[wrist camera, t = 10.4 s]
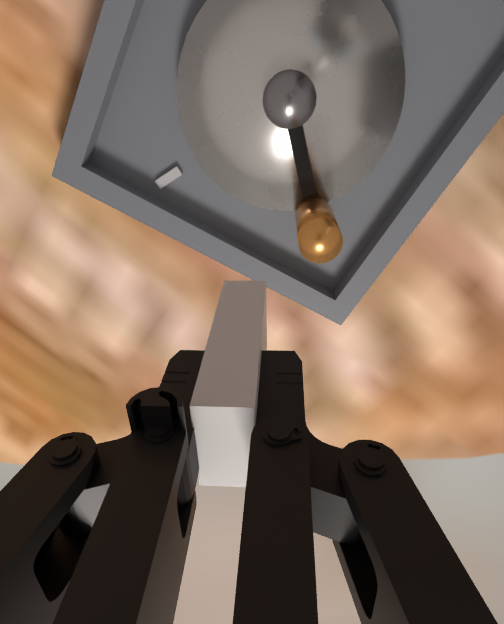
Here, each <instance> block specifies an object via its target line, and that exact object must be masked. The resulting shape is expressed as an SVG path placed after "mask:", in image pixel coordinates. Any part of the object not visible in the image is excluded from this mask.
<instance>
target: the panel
mask: <svg viewBox="0 0 504 624" xmlns="http://www.w3.org/2000/svg"><path fill="white" fill-rule="evenodd" d="M206 1H207V0H104V3H103V6H102V10H101V13H100V16H99V20H98V23H97V26H96V30H95V33H94V36H93V40H92V43H91V46H90V50H89V53H88V56H87V60H86V63H85V66H84V70H83V73H82V76H81V80H80V83H79V86H78V90H77V93H76V96H75V99H74V103H73V106H72V109H71V113H70V116H69V119H68V123H67V126H66V129H65V133H64V136H63V139H62V143H61V146H60V149H59V153H58V156H57V159H56V163H55V166H54V169H53V173H52V176H53V177H55V178H57V179H59V180H61V181H63V182H65V183H66V184H68V185H70V186H72V187H74V188H76V189H78V190H80V191H82V192H84V193H86V194H88V195H90V196H92V197H94V198H95V199H97V200H99V201H101V202H103V203H105V204H107V205H109V206H111V207H113V208H115V209H117V210H119V211H121V212H123V213H125V214H126V215H128V216H130V217H132V218H134V219H136V220H138V221H140V222H142V223H144V224H146V225H148V226H150V227H152V228H154V229H156V230H157V231H159V232H161V233H163V234H165V235H167V236H169V237H171V238H173V239H175V240H177V241H179V242H181V243H183V244H185V245H186V246H188V247H190V248H192V249H194V250H196V251H198V252H200V253H202V254H204V255H206V256H208V257H210V258H212V259H214V260H216V261H217V262H219V263H221V264H223V265H225V266H227V267H229V268H231V269H233V270H235V271H237V272H239V273H241V274H243V275H245V276H247V277H248V278H250V279H252V280H254V281H266V287H268V288H270V289H272V290H274V291H276V292H277V293H279V294H281V295H283V296H285V297H287V298H289V299H291V300H293V301H295V302H297V303H299V304H301V305H303V306H305V307H307V308H308V309H310V310H312V311H314V312H316V313H318V314H320V315H322V316H324V317H326V318H328V319H330V320H332V321H334V322H336V323H338V324H339V325H342V323H343V322H344V321H345V319H346V318H347V317H348V315H349V314H350V313H351V311H352V310H353V309H354V308H355V306H356V305H357V304H358V302H359V301H360V300H361V298H362V297H363V296H364V294H365V293H366V292H367V291H368V289H369V288H370V287H371V285H372V284H373V283H374V281H375V280H376V279H377V278H378V276H379V275H380V274H381V272H382V271H383V270H384V268H385V267H386V266H387V264H388V263H389V262H390V261H391V259H392V258H393V257H394V255H395V254H396V253H397V251H398V250H399V249H400V247H401V246H402V245H403V244H404V242H405V241H406V240H407V238H408V237H409V236H410V234H411V233H412V232H413V230H414V229H415V228H416V227H417V225H418V224H419V223H420V221H421V220H422V219H423V217H424V216H425V215H426V214H427V212H428V211H429V210H430V208H431V207H432V206H433V204H434V203H435V202H436V200H437V199H438V198H439V197H440V195H441V194H442V193H443V191H444V190H445V189H446V187H447V186H448V185H449V183H450V182H451V181H452V180H453V178H454V177H455V176H456V174H457V173H458V172H459V170H460V169H461V168H462V167H463V165H464V164H465V163H466V161H467V160H468V159H469V157H470V156H471V155H472V153H473V152H474V151H475V150H476V148H477V147H478V146H479V144H480V143H481V142H482V140H483V139H484V138H485V136H486V135H487V134H488V133H489V131H490V130H491V129H492V127H493V126H494V125H495V123H496V122H497V121H498V119H499V118H500V117H501V116H502V114H503V113H504V0H381V1H382V2H383V4H384V5H385V7H386V9H387V10H388V12H389V13H390V15H391V17H392V20H393V22H394V24H395V26H396V29H397V31H398V34H399V38H400V41H401V45H402V49H403V55H404V62H405V81H406V82H405V94H404V101H403V106H402V111H401V116H400V119H399V122H398V125H397V128H396V131H395V133H394V135H393V137H392V139H391V142H390V144H389V146H388V147H387V149H386V151H385V152H384V154H383V156H382V157H381V159H380V160H379V161H378V163H377V164H376V165H375V167H374V168H373V169H372V170H371V171H370V172H369V173H368V174H367V175H366V177H365V178H364V179H363V180H362V181H361V182H359V183H358V184H357V185H356V186H354V187H353V188H352V189H351V190H349V191H348V192H346V193H344V194H343V195H341V196H340V197H338V198H336V199H334V200H332V201H330V202H328V203H329V204H330V206H331V208H332V211H333V213H334V216H335V218H336V221H337V223H338V226H339V228H340V231H341V234H342V237H343V246H342V249H341V251H340V253H339V254H338V255H337V256H336V257H335V258H334V259H333V260H331V261H329V262H326V263H313V262H310V261H308V260H307V259H306V258H304V256H303V255H302V254H301V252H300V250H299V245H298V237H297V229H296V221H295V212H296V210H295V211H278V210H270V209H265V208H260V207H257V206H254V205H251V204H248V203H246V202H244V201H242V200H240V199H238V198H236V197H234V196H233V195H231V194H230V193H228V192H227V191H225V190H224V189H223V188H221V187H220V186H219V185H218V184H217V183H216V182H215V181H213V179H212V178H211V177H210V176H209V175H208V174H207V173H206V172H205V171H204V169H203V168H202V166H201V165H200V164H199V162H198V161H197V159H196V158H195V156H194V154H193V152H192V150H191V148H190V146H189V144H188V142H187V139H186V137H185V134H184V132H183V128H182V124H181V120H180V117H179V110H178V103H177V75H178V65H179V61H180V56H181V51H182V48H183V45H184V42H185V39H186V36H187V33H188V31H189V29H190V27H191V25H192V23H193V21H194V19H195V17H196V16H197V14H198V13H199V11H200V9H201V8H202V6H203V5H204V3H205V2H206Z"/></svg>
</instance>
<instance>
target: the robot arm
mask: <svg viewBox="0 0 504 624" xmlns="http://www.w3.org/2000/svg"><path fill="white" fill-rule="evenodd" d="M266 348H267V324H266V281H224V284H223V288H222V291H221V295H220V298H219V302H218V306H217V309H216V313H215V316H214V320H213V323H212V327H211V331H210V334H209V338H208V341H207V345H206V349H205V351H197V350H180V351H179V352H178V353H177V354H176V355H175V356H173V357H172V358H171V359H170V361H169V363H168V366H167V368H166V371H165V374H164V376H163V379H162V383H161V384H160V386H159V387H158V388H150V389H147V390H144V391H141V392H139V393H138V394H136V395H135V396H133V397H132V398H131V399H130V400H129V402H128V403H127V404H126V409H127V413H128V418H129V422H130V426H131V431H132V432H131V434H130V435H128V436H126V437H123V438H120V439H117V440H113V441H108V442H104V443H99V444H96V443H95V441H94V440H93V438H92V437H91V436H89V435H87V434H85V433H79V432H72V433H67V434H63V435H60V436H58V437H56V438H54V439H52V440H50V441H49V442H48V443H47V444H45V445H44V446H43V447H42V448H41V449H40V450H39V451H38V452H37V453H36V454H35V455H34V456H33V457H32V458H31V459H30V460H29V461H28V463H27V464H26V465H25V466H24V467H23V468H22V469H21V470H20V471H19V472H18V473H17V474H16V475H15V476H14V477H13V478H12V479H11V481H10V482H9V483H8V484H7V485H6V486H5V487H4V488H3V489H2V490H1V491H0V624H173V621H174V615H175V610H176V605H177V600H178V595H179V590H180V585H181V580H182V575H183V570H184V565H185V560H186V555H187V550H188V545H189V540H190V535H191V530H192V524H193V519H194V514H195V509H196V492H195V487H196V482H197V478H198V475H199V482H200V485H205V486H230V487H246V491H245V502H244V512H243V522H242V533H241V544H240V554H239V565H238V575H237V585H236V595H235V606H234V616H233V624H318V612H317V594H316V576H315V558H314V542H313V541H314V540H313V532H315V533H317V534H320V535H322V536H325V537H328V538H330V539H333V544H334V546H335V549H336V552H337V555H338V558H339V561H340V564H341V566H342V569H343V572H344V575H345V578H346V581H347V583H348V586H349V589H350V592H351V595H352V598H353V601H354V603H355V607H356V609H357V612H358V615H359V618H360V621H361V624H498V623H497V622H496V620H495V619H494V617H493V615H492V614H491V612H490V610H489V608H488V607H487V605H486V603H485V602H484V600H483V598H482V597H481V595H480V593H479V591H478V590H477V588H476V587H475V585H474V583H473V581H472V580H471V578H470V576H469V575H468V573H467V571H466V570H465V568H464V566H463V565H462V563H461V561H460V559H459V558H458V556H457V554H456V553H455V551H454V549H453V548H452V546H451V544H450V543H449V541H448V539H447V538H446V536H445V534H444V533H443V531H442V529H441V527H440V526H439V524H438V522H437V521H436V519H435V517H434V516H433V514H432V512H431V511H430V509H429V507H428V505H427V504H426V502H425V500H424V499H423V497H422V495H421V494H420V492H419V490H418V489H417V487H416V485H415V484H414V482H413V480H412V478H411V477H410V475H409V473H408V472H407V470H406V468H405V467H404V465H403V463H402V462H401V460H400V458H399V457H398V456H397V455H396V454H395V452H394V451H393V450H392V449H390V448H389V447H387V446H385V445H384V444H382V443H379V442H376V441H372V440H357V441H354V442H351V443H349V444H348V445H347V446H345V447H344V448H343V449H341V448H338V447H334V446H331V445H328V444H326V443H323V442H321V441H320V440H318V439H317V438H315V437H314V436H313V435H312V434H311V433H310V431H309V430H308V428H307V426H306V422H305V409H304V391H303V372H302V361H301V359H300V358H299V357H298V355H297V354H296V352H295V351H266Z"/></svg>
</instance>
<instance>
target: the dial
mask: <svg viewBox="0 0 504 624" xmlns="http://www.w3.org/2000/svg"><path fill="white" fill-rule="evenodd" d="M405 82H406V81H405V62H404V55H403V49H402V45H401V41H400V38H399V34H398V31H397V29H396V26H395V24H394V22H393V20H392V17H391V15H390V13H389V12H388V10H387V9H386V7H385V5H384V4H383V2H382V1H381V0H207V1H206V2H205V3H204V5H203V6H202V8H201V9H200V11H199V13H198V14H197V16H196V17H195V19H194V21H193V23H192V25H191V27H190V29H189V31H188V33H187V36H186V39H185V42H184V45H183V48H182V51H181V56H180V61H179V65H178V75H177V103H178V110H179V117H180V120H181V124H182V128H183V132H184V134H185V137H186V139H187V142H188V144H189V146H190V148H191V150H192V152H193V154H194V156H195V158H196V159H197V161H198V162H199V164H200V165H201V166H202V168H203V169H204V171H205V172H206V173H207V174H208V175H209V176H210V177H211V178H212V179H213V181H215V182H216V183H217V184H218V185H219V186H220V187H221V188H223V189H224V190H225V191H227V192H228V193H230V194H231V195H233V196H234V197H236V198H238V199H240V200H242V201H244V202H246V203H248V204H251V205H254V206H257V207H260V208H265V209H270V210H278V211H295V210H296V212H295V221H296V229H297V237H298V245H299V250H300V252H301V254H302V255H303V256H304V258H306V259H307V260H308V261H310V262H313V263H326V262H329V261H331V260H333V259H334V258H335V257H336V256H337V255H338V254H339V253H340V251H341V249H342V246H343V237H342V234H341V231H340V228H339V226H338V223H337V221H336V218H335V216H334V213H333V211H332V208H331V206H330V204H329V203H328V202H330V201H332V200H334V199H336V198H338V197H340V196H341V195H343V194H344V193H346V192H348V191H349V190H351V189H352V188H353V187H354V186H356V185H357V184H358V183H359V182H361V181H362V180H363V179H364V178H365V177H366V175H367V174H368V173H369V172H370V171H371V170H372V169H373V168H374V167H375V165H376V164H377V163H378V161H379V160H380V159H381V157H382V156H383V154H384V152H385V151H386V149H387V147H388V146H389V144H390V142H391V139H392V137H393V135H394V133H395V131H396V128H397V125H398V122H399V119H400V116H401V111H402V106H403V101H404V94H405Z"/></svg>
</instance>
